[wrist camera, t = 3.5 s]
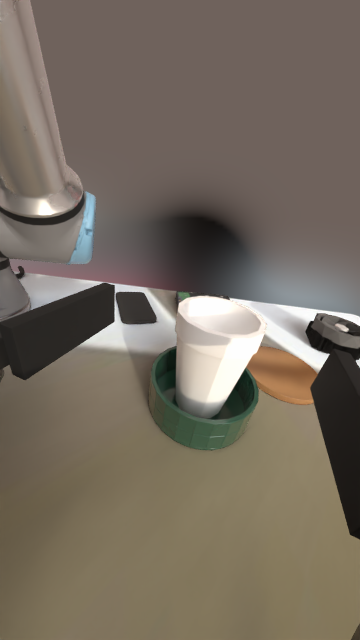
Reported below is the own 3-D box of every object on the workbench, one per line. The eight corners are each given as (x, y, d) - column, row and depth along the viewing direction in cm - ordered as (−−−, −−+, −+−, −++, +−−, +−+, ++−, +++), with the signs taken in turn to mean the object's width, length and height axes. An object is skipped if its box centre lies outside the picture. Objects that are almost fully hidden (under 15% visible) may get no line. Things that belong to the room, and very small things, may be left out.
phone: (122, 321, 42) (115, 291, 54) (122, 324, 42) (115, 294, 54) (158, 319, 45) (144, 292, 57) (157, 323, 45) (143, 294, 57)
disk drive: (224, 304, 61) (174, 299, 58) (227, 295, 60) (176, 289, 57) (238, 321, 52) (179, 317, 49) (241, 311, 51) (181, 306, 48)
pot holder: (230, 349, 41) (232, 345, 40) (288, 351, 43) (290, 347, 43) (265, 406, 29) (267, 401, 29) (340, 403, 32) (343, 398, 32)
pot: (146, 366, 33) (149, 342, 31) (226, 366, 36) (233, 345, 34) (150, 455, 21) (154, 427, 19) (266, 445, 24) (281, 420, 22)
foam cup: (218, 373, 34) (242, 298, 27) (245, 426, 26) (286, 338, 20) (159, 375, 31) (171, 293, 25) (169, 434, 23) (188, 337, 17)
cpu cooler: (380, 342, 40) (322, 327, 42) (363, 365, 43) (310, 350, 45) (358, 320, 49) (311, 309, 51) (345, 340, 51) (301, 329, 54)
